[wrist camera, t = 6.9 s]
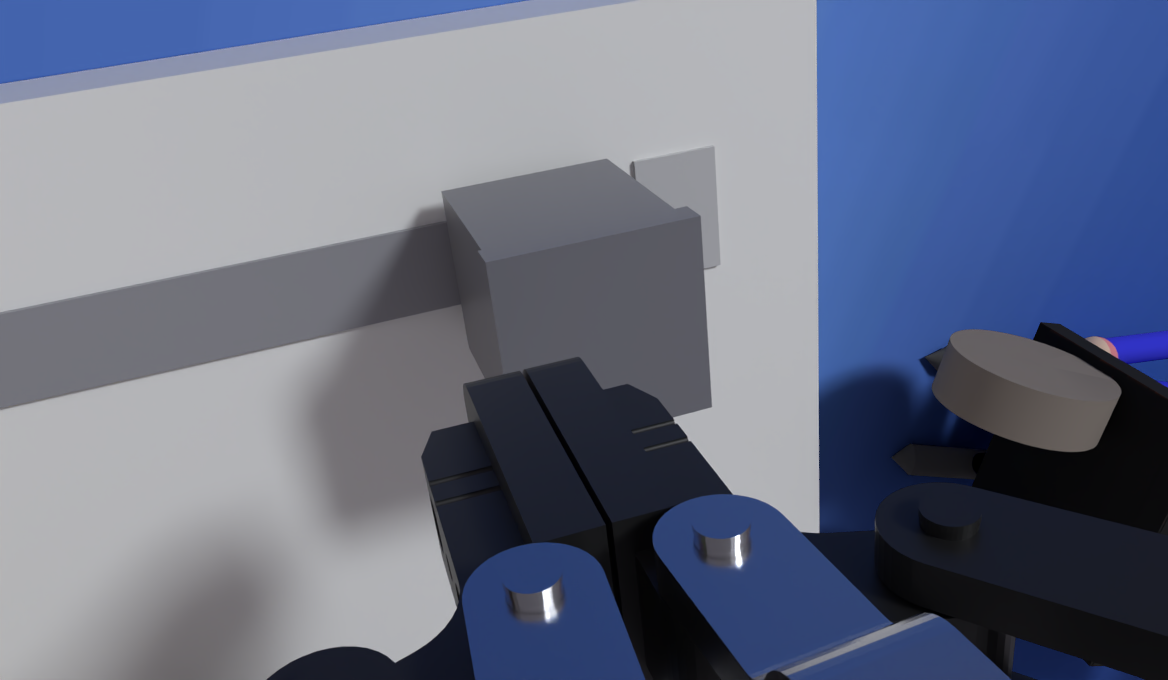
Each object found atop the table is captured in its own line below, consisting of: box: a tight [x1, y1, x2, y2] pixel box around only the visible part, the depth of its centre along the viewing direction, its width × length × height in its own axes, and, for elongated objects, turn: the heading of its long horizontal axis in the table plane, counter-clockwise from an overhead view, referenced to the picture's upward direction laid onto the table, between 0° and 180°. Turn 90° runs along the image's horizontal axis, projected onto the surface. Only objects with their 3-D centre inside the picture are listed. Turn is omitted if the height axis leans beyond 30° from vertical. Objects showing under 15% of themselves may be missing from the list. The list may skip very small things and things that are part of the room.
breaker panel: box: [0, 0, 819, 680], centre depth 21 cm, size 21×18×2 cm
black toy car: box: [891, 322, 1168, 666], centre depth 25 cm, size 7×8×15 cm
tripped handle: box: [441, 159, 712, 417], centre depth 17 cm, size 3×3×4 cm
